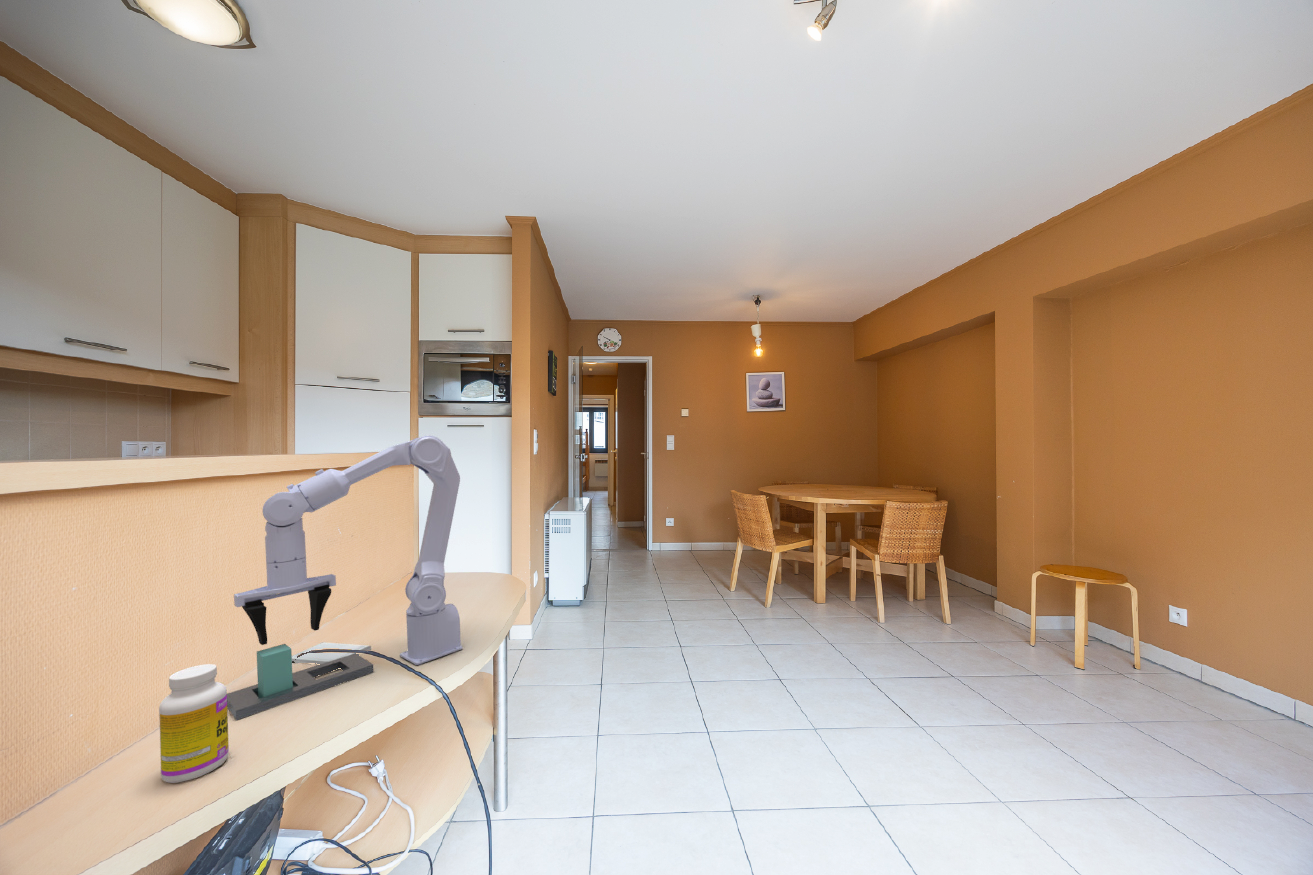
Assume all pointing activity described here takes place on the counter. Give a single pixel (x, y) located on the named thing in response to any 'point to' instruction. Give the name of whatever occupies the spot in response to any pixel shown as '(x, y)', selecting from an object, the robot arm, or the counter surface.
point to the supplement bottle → (193, 724)
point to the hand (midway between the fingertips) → (289, 635)
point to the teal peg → (274, 670)
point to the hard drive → (326, 657)
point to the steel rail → (298, 685)
